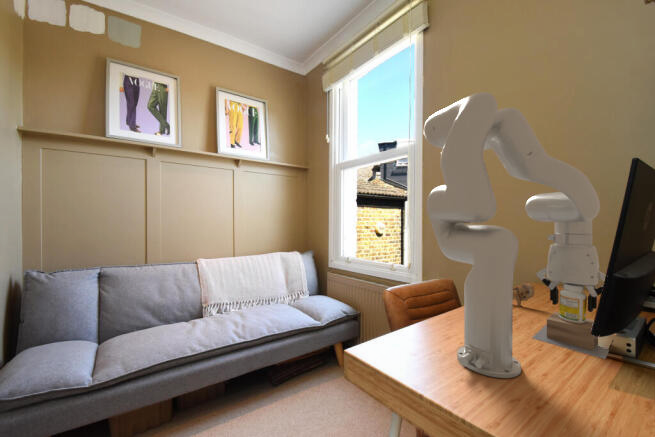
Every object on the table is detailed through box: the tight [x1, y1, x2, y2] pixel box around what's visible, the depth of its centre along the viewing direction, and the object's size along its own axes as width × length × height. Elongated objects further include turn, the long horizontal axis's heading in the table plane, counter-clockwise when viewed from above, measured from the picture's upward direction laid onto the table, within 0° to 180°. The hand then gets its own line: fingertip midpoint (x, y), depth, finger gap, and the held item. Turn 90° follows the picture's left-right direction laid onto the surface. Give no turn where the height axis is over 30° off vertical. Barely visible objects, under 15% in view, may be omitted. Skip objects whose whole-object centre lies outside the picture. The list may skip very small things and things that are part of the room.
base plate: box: [531, 323, 610, 360], centre depth 73 cm, size 16×14×1 cm
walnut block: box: [546, 311, 598, 350], centre depth 73 cm, size 9×9×5 cm
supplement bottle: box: [558, 283, 588, 323], centre depth 73 cm, size 5×5×10 cm
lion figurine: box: [512, 283, 536, 308], centre depth 102 cm, size 15×5×9 cm, turn 47°
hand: (572, 306), depth 73 cm, fingers open, 6 cm apart
